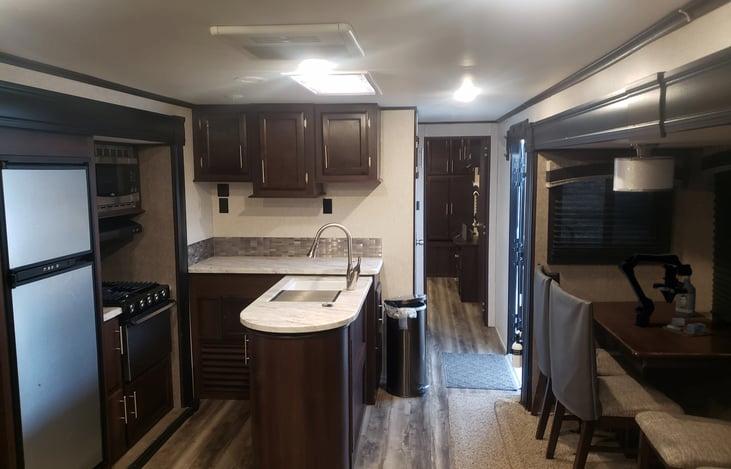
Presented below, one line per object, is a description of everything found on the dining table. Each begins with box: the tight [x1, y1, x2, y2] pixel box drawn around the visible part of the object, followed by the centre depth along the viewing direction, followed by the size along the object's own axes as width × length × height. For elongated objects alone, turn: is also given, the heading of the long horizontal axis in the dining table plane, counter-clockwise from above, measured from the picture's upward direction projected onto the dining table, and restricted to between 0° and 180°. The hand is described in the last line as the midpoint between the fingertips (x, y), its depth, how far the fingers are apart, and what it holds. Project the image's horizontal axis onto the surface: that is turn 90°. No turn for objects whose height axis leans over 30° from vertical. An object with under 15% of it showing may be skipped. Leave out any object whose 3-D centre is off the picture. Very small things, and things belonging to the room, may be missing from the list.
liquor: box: [674, 276, 697, 318], centre depth 321 cm, size 9×9×30 cm
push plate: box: [667, 317, 686, 327], centre depth 293 cm, size 10×3×4 cm, turn 107°
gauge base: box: [662, 322, 709, 338], centre depth 288 cm, size 14×16×6 cm
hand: (669, 303), depth 298 cm, fingers closed
